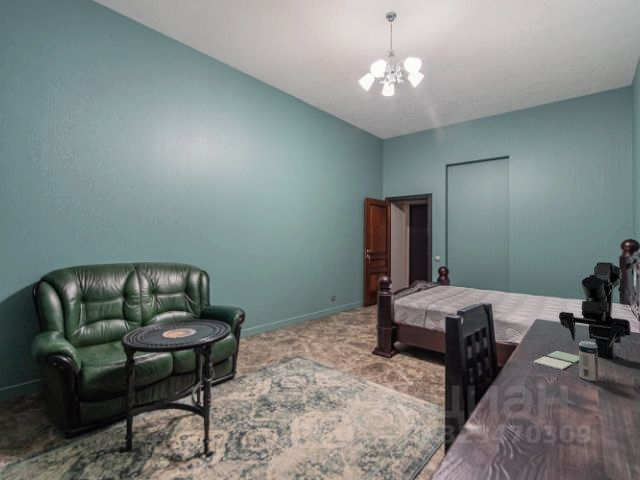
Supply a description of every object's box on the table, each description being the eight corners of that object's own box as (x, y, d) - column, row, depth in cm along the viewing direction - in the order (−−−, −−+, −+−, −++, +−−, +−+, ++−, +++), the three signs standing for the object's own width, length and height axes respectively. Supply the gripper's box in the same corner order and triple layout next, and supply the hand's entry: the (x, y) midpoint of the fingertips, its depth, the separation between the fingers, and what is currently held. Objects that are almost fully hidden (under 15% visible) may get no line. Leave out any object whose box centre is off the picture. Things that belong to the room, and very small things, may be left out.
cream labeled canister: (602, 382, 102) (601, 345, 102) (585, 381, 103) (584, 344, 103) (592, 376, 107) (591, 340, 107) (576, 375, 108) (575, 340, 108)
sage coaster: (556, 352, 131) (556, 350, 131) (583, 358, 123) (583, 357, 124) (547, 356, 126) (547, 355, 126) (574, 363, 119) (574, 361, 119)
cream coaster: (544, 357, 125) (544, 356, 125) (572, 364, 117) (572, 363, 117) (533, 362, 120) (533, 361, 120) (562, 370, 112) (561, 368, 112)
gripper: (559, 289, 119) (552, 324, 111) (629, 295, 105) (626, 335, 97) (564, 308, 124) (558, 342, 116) (631, 315, 110) (629, 355, 102)
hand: (590, 343), depth 108 cm, fingers open, 9 cm apart
